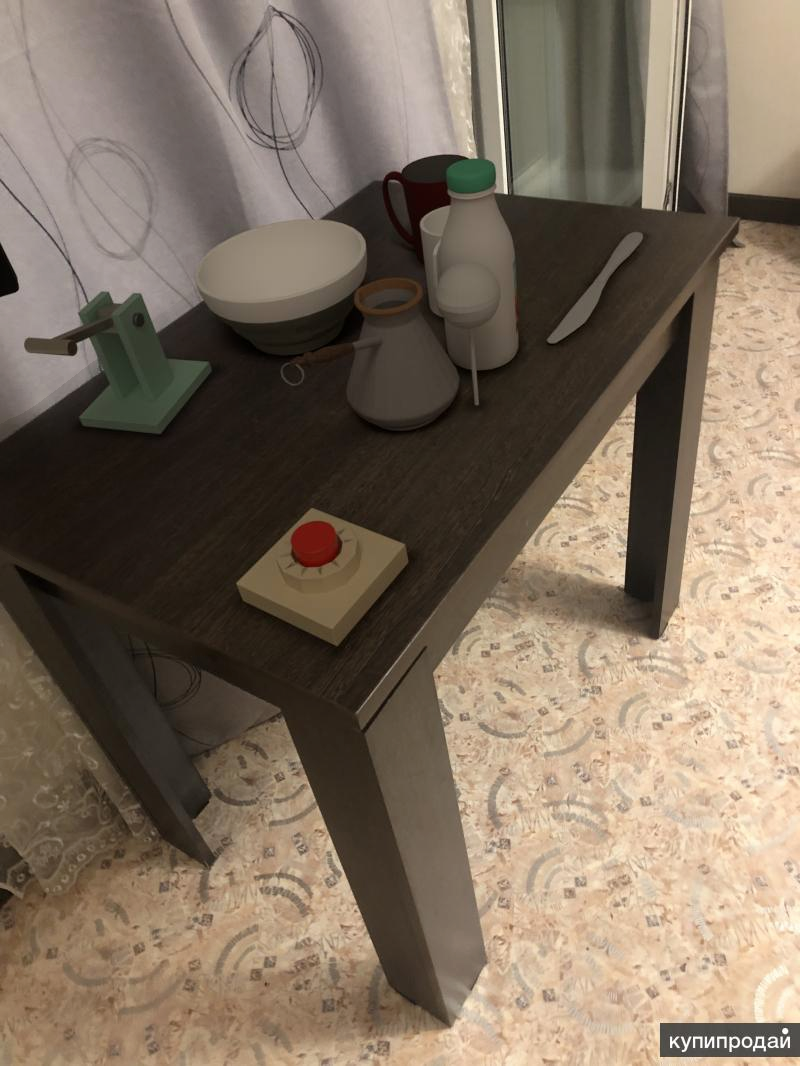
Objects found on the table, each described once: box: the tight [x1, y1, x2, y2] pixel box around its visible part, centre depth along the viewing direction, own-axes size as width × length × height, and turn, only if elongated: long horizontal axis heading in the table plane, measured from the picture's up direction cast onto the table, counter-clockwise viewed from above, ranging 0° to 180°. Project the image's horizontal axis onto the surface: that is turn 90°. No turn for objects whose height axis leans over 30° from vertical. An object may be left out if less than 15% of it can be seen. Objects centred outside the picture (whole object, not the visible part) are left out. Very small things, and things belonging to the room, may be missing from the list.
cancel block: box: [235, 507, 409, 647], centre depth 66 cm, size 10×10×4 cm
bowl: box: [193, 218, 368, 356], centre depth 94 cm, size 20×20×10 cm
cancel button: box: [291, 521, 339, 567], centre depth 65 cm, size 4×4×2 cm
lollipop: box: [435, 262, 501, 406], centre depth 77 cm, size 6×6×15 cm
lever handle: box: [23, 302, 122, 357], centre depth 81 cm, size 12×5×2 cm, turn 162°
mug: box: [381, 153, 470, 265], centre depth 104 cm, size 12×9×11 cm
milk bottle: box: [439, 157, 519, 371], centre depth 82 cm, size 8×8×20 cm
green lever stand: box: [77, 291, 213, 435], centre depth 88 cm, size 12×10×12 cm
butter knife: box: [546, 231, 644, 344], centre depth 96 cm, size 1×27×3 cm
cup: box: [420, 206, 450, 318], centre depth 93 cm, size 8×12×10 cm
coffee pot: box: [280, 277, 460, 432], centre depth 76 cm, size 21×12×15 cm, turn 151°
